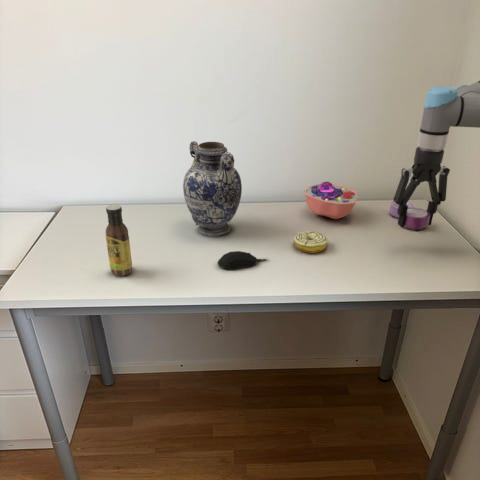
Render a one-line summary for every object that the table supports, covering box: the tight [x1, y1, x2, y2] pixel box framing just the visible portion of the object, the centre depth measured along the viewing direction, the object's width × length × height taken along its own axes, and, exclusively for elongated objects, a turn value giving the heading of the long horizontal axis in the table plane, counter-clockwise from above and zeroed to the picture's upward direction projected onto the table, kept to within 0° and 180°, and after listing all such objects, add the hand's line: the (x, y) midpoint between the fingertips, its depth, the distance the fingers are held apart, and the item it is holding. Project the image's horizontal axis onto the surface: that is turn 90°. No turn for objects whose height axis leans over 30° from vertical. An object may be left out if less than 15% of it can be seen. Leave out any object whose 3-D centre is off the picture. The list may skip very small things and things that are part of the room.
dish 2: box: [404, 207, 431, 230], centre depth 154 cm, size 8×8×4 cm
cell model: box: [304, 180, 358, 220], centre depth 179 cm, size 17×20×11 cm
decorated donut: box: [293, 231, 329, 254], centre depth 160 cm, size 10×11×4 cm
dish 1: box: [388, 201, 415, 219], centre depth 181 cm, size 8×8×4 cm
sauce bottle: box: [105, 203, 133, 277], centre depth 142 cm, size 6×6×20 cm
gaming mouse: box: [217, 250, 267, 270], centre depth 151 cm, size 6×15×4 cm, turn 107°
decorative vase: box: [182, 140, 243, 237], centre depth 164 cm, size 21×19×28 cm
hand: (414, 224), depth 155 cm, fingers closed on dish 2, 8 cm apart
